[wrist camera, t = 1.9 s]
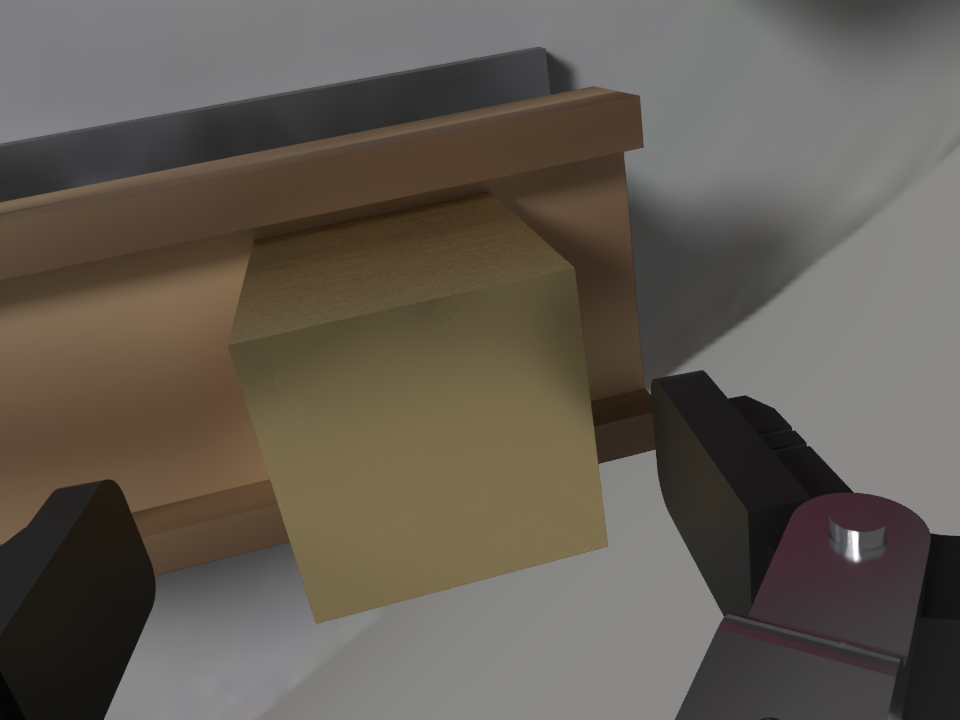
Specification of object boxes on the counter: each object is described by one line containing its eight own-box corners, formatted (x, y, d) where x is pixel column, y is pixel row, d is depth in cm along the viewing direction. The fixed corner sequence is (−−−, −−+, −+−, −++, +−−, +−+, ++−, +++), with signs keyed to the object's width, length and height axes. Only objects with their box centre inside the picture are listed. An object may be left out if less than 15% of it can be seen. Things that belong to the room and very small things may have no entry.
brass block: (254, 240, 16) (227, 344, 11) (489, 191, 17) (574, 267, 12) (313, 448, 19) (315, 623, 13) (522, 398, 19) (607, 546, 14)
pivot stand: (-399, 215, 25) (-819, 323, 17) (539, 46, 26) (607, 65, 17) (-247, 458, 29) (-527, 651, 20) (571, 308, 29) (641, 434, 21)
